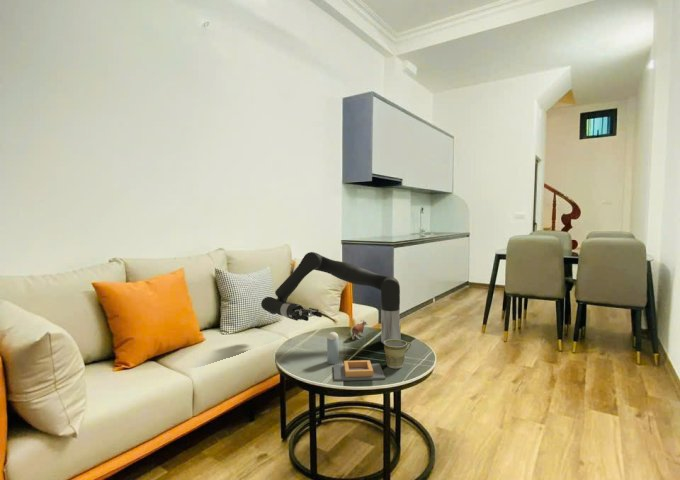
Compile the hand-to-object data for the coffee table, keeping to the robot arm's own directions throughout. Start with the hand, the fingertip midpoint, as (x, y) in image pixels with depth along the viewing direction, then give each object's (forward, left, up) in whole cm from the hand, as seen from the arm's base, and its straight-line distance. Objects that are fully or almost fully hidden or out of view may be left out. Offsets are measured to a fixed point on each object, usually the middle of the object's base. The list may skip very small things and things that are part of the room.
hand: (314, 316), depth 171 cm
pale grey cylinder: (-8, +8, -18) cm, 22 cm away
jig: (-18, +20, -18) cm, 33 cm away
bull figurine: (-23, -26, -19) cm, 39 cm away
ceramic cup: (-36, +13, -19) cm, 43 cm away
